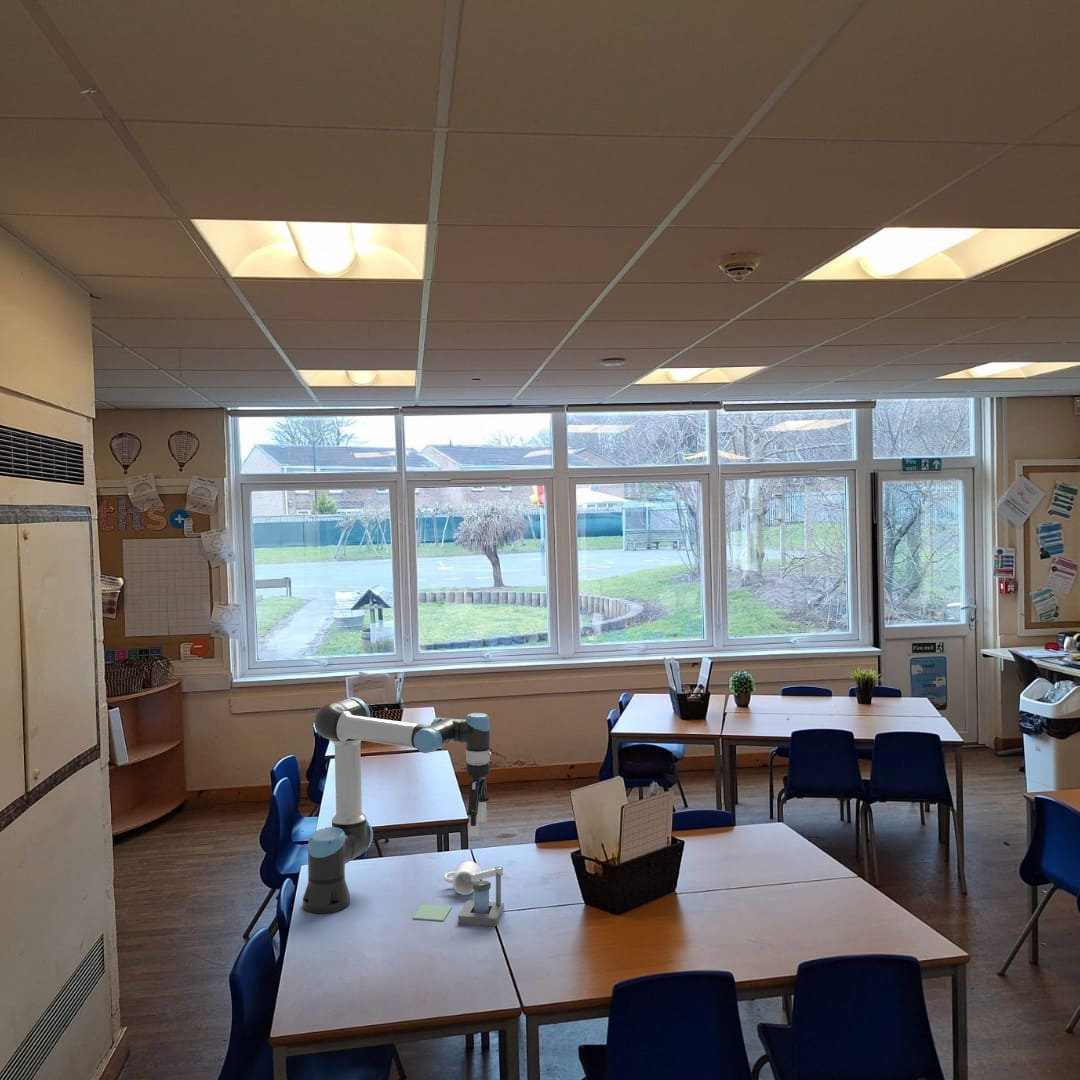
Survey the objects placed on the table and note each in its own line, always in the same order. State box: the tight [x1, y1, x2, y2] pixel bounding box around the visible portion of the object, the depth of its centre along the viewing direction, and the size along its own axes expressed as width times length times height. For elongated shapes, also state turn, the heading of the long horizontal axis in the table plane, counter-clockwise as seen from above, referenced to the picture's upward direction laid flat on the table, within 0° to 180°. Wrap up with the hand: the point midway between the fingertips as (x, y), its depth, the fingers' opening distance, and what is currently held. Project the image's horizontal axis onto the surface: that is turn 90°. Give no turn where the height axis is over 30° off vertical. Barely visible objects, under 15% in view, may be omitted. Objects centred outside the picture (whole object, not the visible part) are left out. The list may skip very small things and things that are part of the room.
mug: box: [443, 860, 482, 896], centre depth 310 cm, size 12×10×8 cm
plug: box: [472, 880, 492, 914], centre depth 287 cm, size 6×6×10 cm
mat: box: [412, 904, 453, 922], centre depth 290 cm, size 10×10×1 cm
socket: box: [457, 875, 505, 928], centre depth 287 cm, size 12×12×12 cm
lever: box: [471, 866, 504, 882], centre depth 288 cm, size 11×3×2 cm, turn 126°
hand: (477, 828), depth 292 cm, fingers open, 13 cm apart
